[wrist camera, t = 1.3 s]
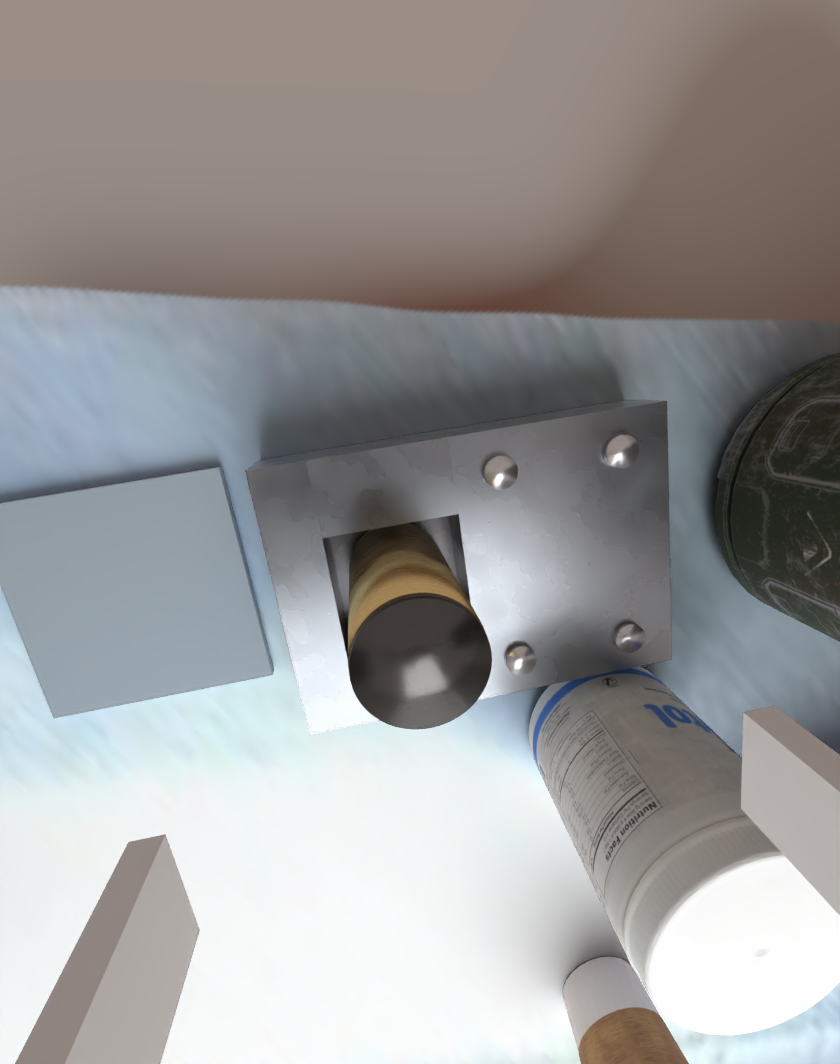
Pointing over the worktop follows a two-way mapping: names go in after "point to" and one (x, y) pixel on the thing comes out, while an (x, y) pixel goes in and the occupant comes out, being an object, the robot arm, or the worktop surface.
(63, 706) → the mat
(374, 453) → the housing
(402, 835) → the worktop surface
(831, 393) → the canister
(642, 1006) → the coffee cup
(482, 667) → the cylinder
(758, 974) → the supplement tub
